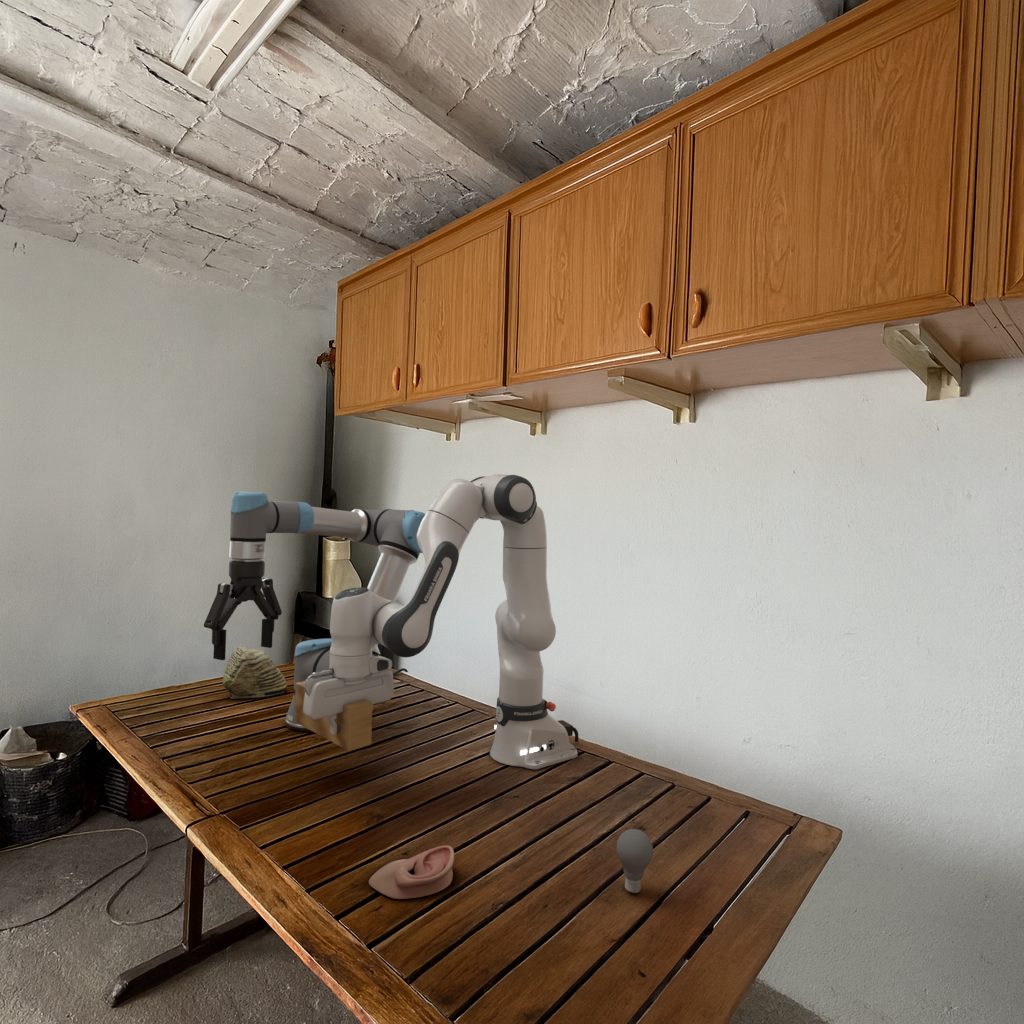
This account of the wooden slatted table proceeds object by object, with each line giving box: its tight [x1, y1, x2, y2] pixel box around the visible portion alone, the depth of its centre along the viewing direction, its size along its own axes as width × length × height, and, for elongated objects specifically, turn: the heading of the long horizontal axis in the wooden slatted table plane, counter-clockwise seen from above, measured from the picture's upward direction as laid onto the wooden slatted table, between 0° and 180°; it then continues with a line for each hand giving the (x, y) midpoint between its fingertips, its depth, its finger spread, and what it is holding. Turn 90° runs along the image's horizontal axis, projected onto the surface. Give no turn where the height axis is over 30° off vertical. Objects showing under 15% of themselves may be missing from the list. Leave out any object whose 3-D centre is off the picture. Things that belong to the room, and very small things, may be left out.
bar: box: [295, 681, 373, 752], centre depth 140 cm, size 23×5×9 cm, turn 47°
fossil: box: [222, 646, 288, 699], centre depth 198 cm, size 9×18×15 cm, turn 132°
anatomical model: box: [368, 844, 455, 900], centre depth 106 cm, size 13×4×12 cm
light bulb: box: [615, 828, 654, 894], centre depth 106 cm, size 6×6×10 cm
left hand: (243, 652), depth 144 cm, fingers open, 13 cm apart
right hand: (349, 729), depth 135 cm, fingers closed on bar, 5 cm apart
